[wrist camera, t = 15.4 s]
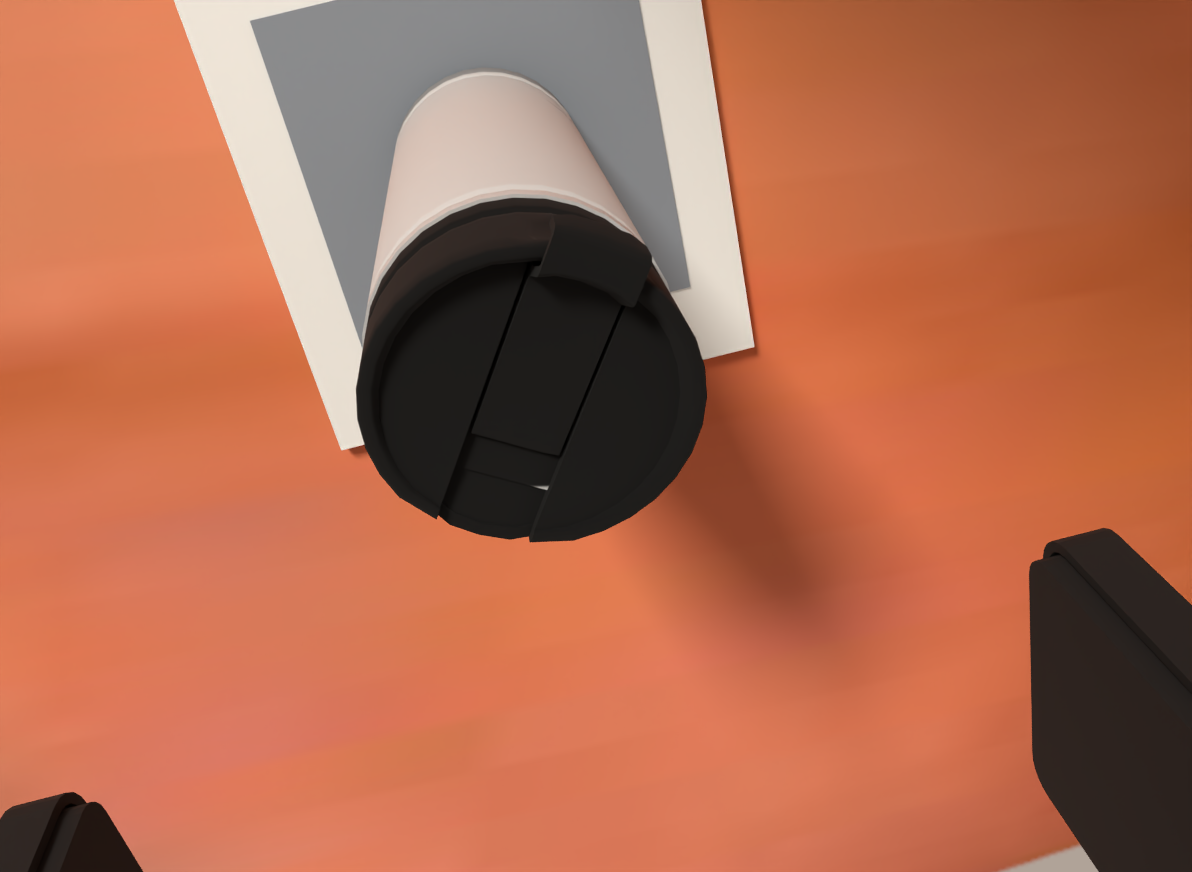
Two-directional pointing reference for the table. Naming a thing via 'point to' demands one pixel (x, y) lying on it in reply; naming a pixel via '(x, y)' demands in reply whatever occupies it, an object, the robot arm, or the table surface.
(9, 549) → the table surface
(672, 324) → the travel mug
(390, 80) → the card
